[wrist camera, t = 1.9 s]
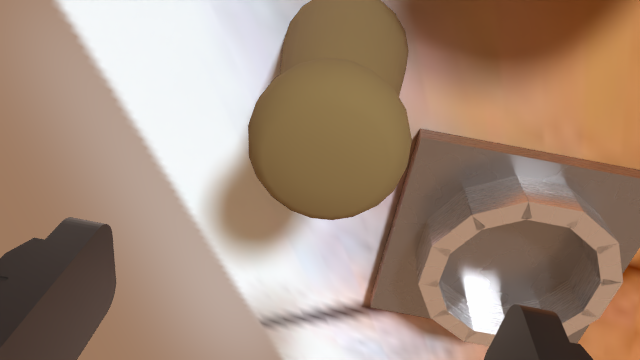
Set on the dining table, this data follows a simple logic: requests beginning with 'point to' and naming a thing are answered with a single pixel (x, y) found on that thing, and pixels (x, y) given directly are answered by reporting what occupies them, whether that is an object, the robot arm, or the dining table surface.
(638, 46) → the dining table surface
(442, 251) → the hub
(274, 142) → the cork
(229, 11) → the dining table surface
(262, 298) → the dining table surface
